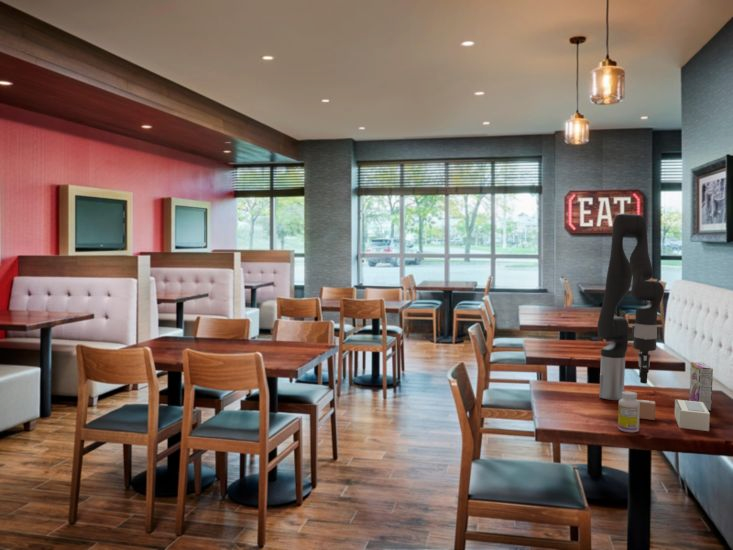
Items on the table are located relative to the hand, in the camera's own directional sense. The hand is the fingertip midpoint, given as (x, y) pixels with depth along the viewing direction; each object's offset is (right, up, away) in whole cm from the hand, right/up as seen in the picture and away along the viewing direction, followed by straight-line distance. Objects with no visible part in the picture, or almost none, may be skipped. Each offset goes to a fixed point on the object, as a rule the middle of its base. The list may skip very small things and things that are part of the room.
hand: (643, 380), depth 220 cm
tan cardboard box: (0, -14, +1) cm, 14 cm away
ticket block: (+15, -14, -5) cm, 21 cm away
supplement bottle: (-11, -15, -14) cm, 23 cm away
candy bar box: (+30, -13, +17) cm, 37 cm away
